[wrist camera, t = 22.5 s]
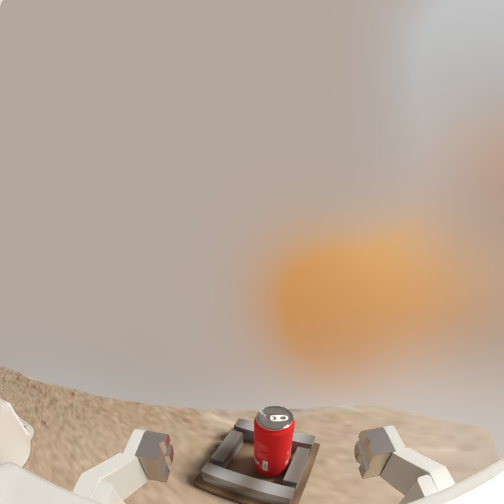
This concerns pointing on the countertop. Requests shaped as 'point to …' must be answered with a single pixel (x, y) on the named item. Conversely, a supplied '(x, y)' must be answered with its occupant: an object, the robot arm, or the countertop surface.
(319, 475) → the countertop surface
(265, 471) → the beverage can
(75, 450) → the countertop surface
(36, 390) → the countertop surface
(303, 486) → the socket block
